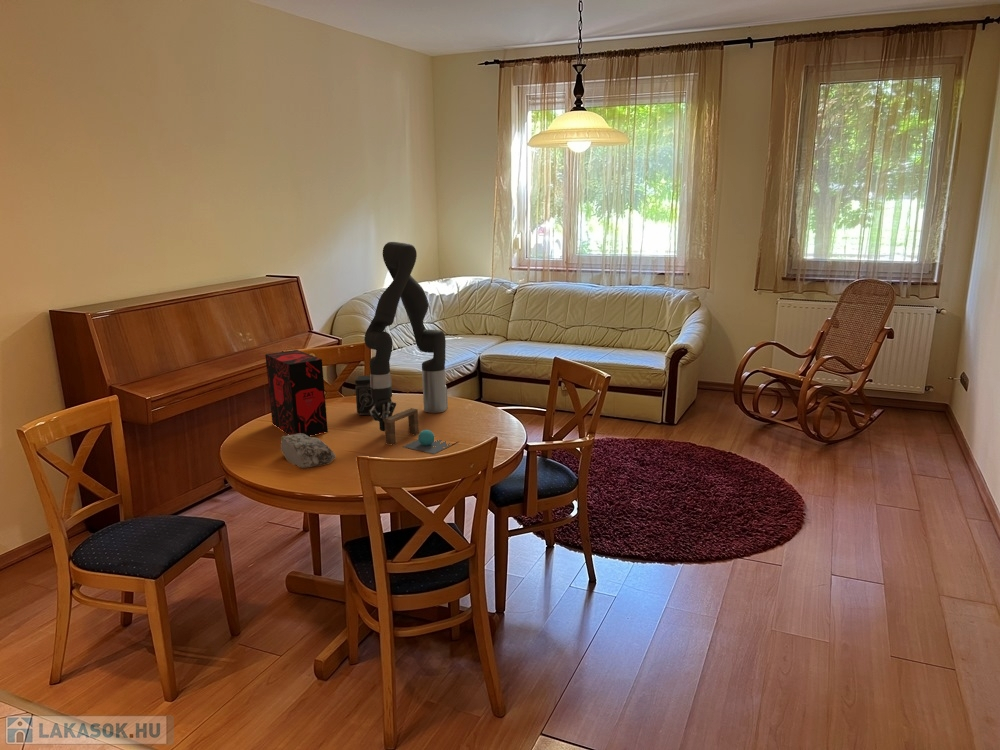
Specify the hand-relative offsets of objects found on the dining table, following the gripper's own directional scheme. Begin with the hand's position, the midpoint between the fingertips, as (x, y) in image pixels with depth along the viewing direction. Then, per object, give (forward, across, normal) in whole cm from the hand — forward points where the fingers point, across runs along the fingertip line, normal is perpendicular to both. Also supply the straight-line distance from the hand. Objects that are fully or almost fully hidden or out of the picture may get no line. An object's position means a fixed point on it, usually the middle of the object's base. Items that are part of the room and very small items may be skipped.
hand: (383, 430), depth 255 cm
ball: (-1, +1, +21) cm, 21 cm away
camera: (+2, -18, -23) cm, 29 cm away
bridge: (+2, 0, +9) cm, 9 cm away
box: (+2, +11, -33) cm, 35 cm away
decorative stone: (+2, +32, -5) cm, 32 cm away
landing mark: (+2, 0, +22) cm, 22 cm away
